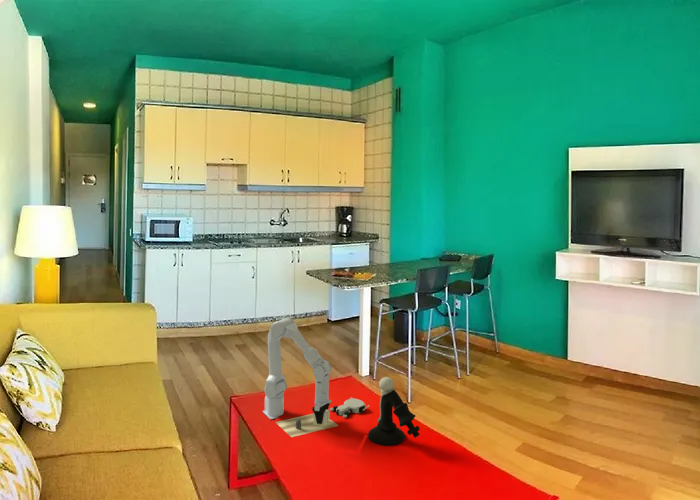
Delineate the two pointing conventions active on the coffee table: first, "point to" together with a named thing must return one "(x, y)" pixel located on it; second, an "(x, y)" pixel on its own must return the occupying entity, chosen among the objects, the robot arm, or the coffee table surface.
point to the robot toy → (350, 407)
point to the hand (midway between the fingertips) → (321, 420)
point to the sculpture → (386, 428)
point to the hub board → (302, 425)
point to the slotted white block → (325, 418)
